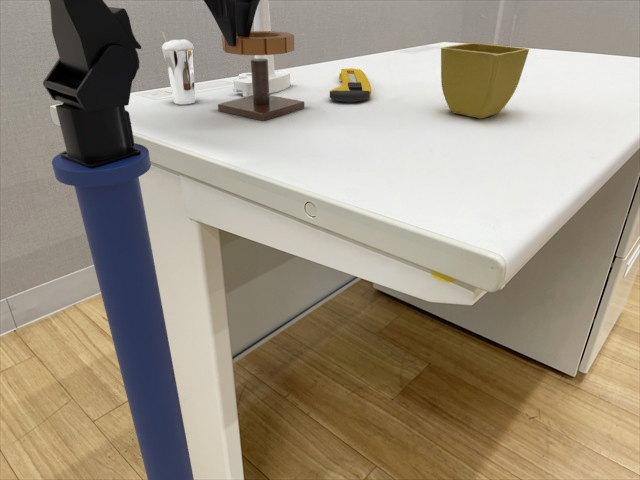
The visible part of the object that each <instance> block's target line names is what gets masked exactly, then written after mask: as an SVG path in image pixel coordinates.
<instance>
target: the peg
mask: <svg viewBox="0 0 640 480" xmlns="http://www.w3.org/2000/svg"><path fill="white" fill-rule="evenodd" d="M250 73H252V89H253V95H252V96H248V97H244V96H243V97H241V98H237V99H233V100H228V101H225V102H220V103H218V104H217V110H218V112H221V113H227V114H231V115H235V116H240V117H243V118H248V119H254V120H257V121H263V122H264V121H268V120H270V119H274V118H278V117H280V116H284V115H287V114H290V113H293V112H296V111H299V110H303V109H305V101H304V100H299V99H292V98H288V97H283V96H277V95H270V94H269V75H268V60H267V59H254V58H252V59H250Z"/></svg>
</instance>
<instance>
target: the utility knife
mask: <svg viewBox="0 0 640 480" xmlns="http://www.w3.org/2000/svg"><path fill="white" fill-rule="evenodd" d="M338 76H339V77H338V79H339V81H341V82H342V83H341V85H340V86H338V87H334V88H333V89H330V90H329V98H330V99H331V100H333V101H338V102H351V103H352V102H361V101H366V100H368V99H369V98H371V97H372V87H371V83H370V81H369V78H368V76H367V74H366V73H365V72H364V71H363V70H362V69H359V68H341V69H340V72H339V75H338Z"/></svg>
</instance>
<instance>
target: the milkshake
mask: <svg viewBox="0 0 640 480" xmlns="http://www.w3.org/2000/svg"><path fill="white" fill-rule="evenodd" d="M160 33H161V36H162V38H163V41H164V43H162V46H161V51H162V55H163V60H164V64H165V67H166V70H167V76H168V80H169V83H170V84H169V86H170V90H171V95H172V100H173V103H174V104H175V105H178V106H179V105H181V106H182V105H192V104H194V103H196V90H195V89H196V88H195V87H196V86H195V54H194V52H195V51H194V49H195V48H194V47H195V46H194V44H193V43H192V42H191V41H190V40H188V39H185V38H181V39H171V40H169V41H168V39H167V37H166V34H165V32H164V31H160Z"/></svg>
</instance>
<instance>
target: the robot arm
mask: <svg viewBox="0 0 640 480" xmlns="http://www.w3.org/2000/svg"><path fill="white" fill-rule="evenodd" d="M48 1H49V7H50V20H51V21H50V22H51V32H52V33H51V34H52V36H53V40H54V44H55V47H56V51H57V53H58V59H57V60H56V62H55V63H54V65H53V67H52V68H51V69H50V71H49V72H48V74H47V75H46V77H45V78H44V80H43V81H42V86H43V87H44V88H45V90H46V92H47V93H48V95H49V96H50V98H51V99H52V100H54V101H58V102H61V104H56V105H55V109H56V113H57V114H56V115H57V118H58V122H59V126H60V130H61V134H62V139H63V141H64V146H65V149H66V150H67V152H64V151H62V152H63V153H62V152H60V153H61V154H60V153H59V154H60V155H61V158H63V159H66V160H68V161H71V162H74V163H76V164H79V165H81V166H84V167H87V168H90V169H93V168H97V167H100V166H104V165H107V164H110V163H114V162H117V161H120V160H123V159H127V158H130V157H133V156H136V155H140V154H141V151H140V149H137V148H133V147H132V146H134V144H135V138H134V132H133V127H132V122H131V116H130V111H128V110H126V106H129V104H130V99H131V91H132V85H133V82H134V80H135V78H136V77H137V73H138V71H139V70H140V57H139V53H138V50H141V49H142V45H141V44H140V42H139V41H138V40H137V39H136V36H135V35H134V33H133V29H132V24H131V20H130V17H129V14H128V12H127V10H126V9H125V8H123V7H114V6H113V7H112V6H108V4H107V3H106V1H104V0H48ZM259 1H260V0H203V2H204V4H205V6H207V8H208V10H209V12H210V13H211V15H212V17H213V18H214V21H215V23H216V24H217V27H218V29H219V30H220V32H221V35H222V34H223V36H224V38H225V40H226V42H227V44H228V45H229V46H236V36H240V37H249V36H250V32H251V31H252V28H253V25H254V17H255V13H256V10H257V7H258V4H259ZM66 150H65V151H66Z"/></svg>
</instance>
